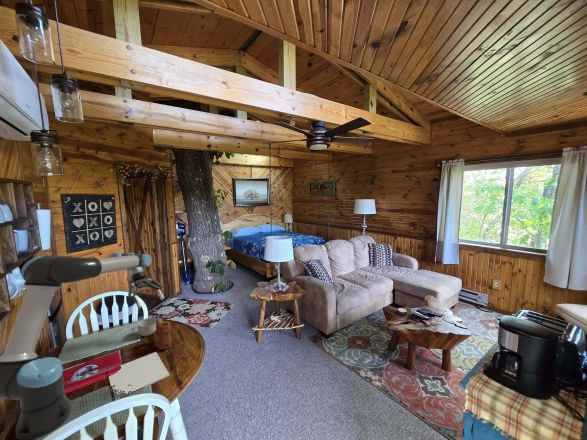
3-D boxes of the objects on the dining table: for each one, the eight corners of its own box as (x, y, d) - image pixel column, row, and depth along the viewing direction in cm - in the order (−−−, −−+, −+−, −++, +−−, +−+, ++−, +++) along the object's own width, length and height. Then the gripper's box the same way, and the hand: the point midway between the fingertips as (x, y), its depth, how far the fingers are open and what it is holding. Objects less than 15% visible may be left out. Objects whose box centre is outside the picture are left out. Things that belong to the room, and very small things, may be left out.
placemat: (114, 401, 103) (114, 400, 103) (107, 371, 121) (107, 370, 121) (169, 375, 119) (169, 374, 118) (156, 352, 136) (156, 351, 136)
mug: (175, 347, 141) (174, 322, 140) (160, 353, 135) (159, 328, 134) (165, 337, 151) (164, 314, 149) (151, 343, 145) (150, 319, 143)
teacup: (155, 327, 162) (154, 315, 162) (159, 333, 155) (159, 322, 154) (130, 334, 153) (130, 322, 152) (133, 342, 145) (133, 329, 144)
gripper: (155, 272, 165) (169, 298, 159) (113, 283, 144) (127, 314, 137) (159, 266, 162) (173, 292, 155) (116, 276, 140) (131, 307, 134)
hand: (151, 303), depth 146 cm, fingers open, 13 cm apart
